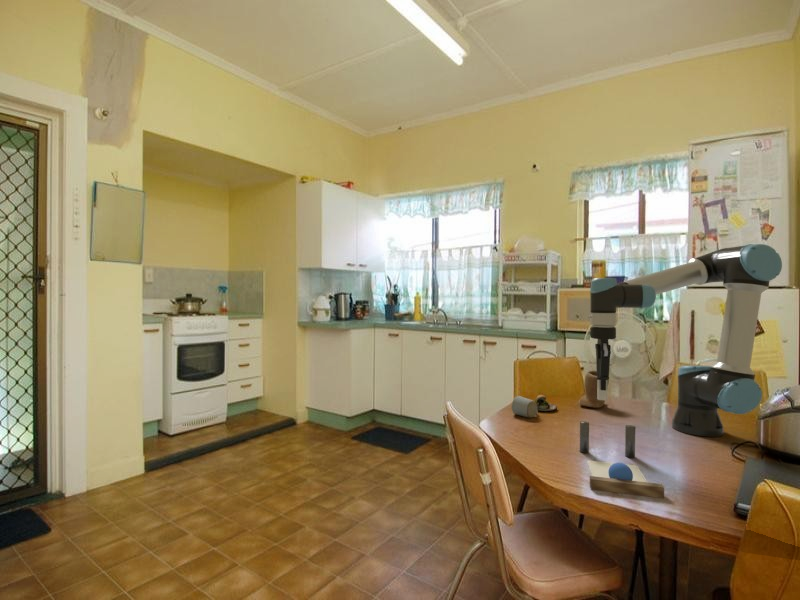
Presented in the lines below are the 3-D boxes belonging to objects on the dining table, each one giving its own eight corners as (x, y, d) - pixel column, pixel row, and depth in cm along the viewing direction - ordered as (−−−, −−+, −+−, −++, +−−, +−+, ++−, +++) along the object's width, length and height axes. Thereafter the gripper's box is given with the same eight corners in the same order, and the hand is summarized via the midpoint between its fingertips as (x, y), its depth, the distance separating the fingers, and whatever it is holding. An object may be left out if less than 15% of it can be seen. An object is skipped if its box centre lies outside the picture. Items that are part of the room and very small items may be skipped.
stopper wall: (661, 494, 104) (661, 484, 104) (664, 498, 102) (664, 487, 102) (589, 485, 108) (589, 475, 108) (590, 489, 106) (590, 479, 106)
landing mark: (637, 466, 121) (637, 465, 121) (649, 485, 109) (649, 484, 109) (586, 460, 125) (586, 460, 125) (593, 479, 112) (593, 478, 112)
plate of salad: (528, 412, 177) (529, 394, 177) (525, 405, 189) (526, 388, 189) (559, 414, 175) (559, 396, 175) (554, 407, 187) (554, 389, 186)
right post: (633, 455, 129) (634, 425, 129) (636, 458, 127) (636, 428, 127) (624, 454, 130) (624, 424, 130) (626, 457, 127) (626, 427, 127)
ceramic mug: (528, 420, 166) (528, 400, 166) (510, 415, 172) (511, 396, 172) (543, 415, 172) (543, 397, 172) (526, 411, 178) (526, 393, 178)
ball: (629, 469, 112) (630, 458, 108) (634, 490, 108) (636, 479, 104) (605, 469, 113) (606, 458, 110) (610, 489, 109) (611, 478, 106)
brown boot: (606, 411, 178) (606, 375, 178) (575, 407, 185) (576, 372, 185) (612, 403, 191) (612, 370, 191) (583, 400, 198) (583, 367, 198)
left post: (588, 450, 133) (588, 421, 133) (589, 453, 130) (589, 424, 130) (579, 450, 133) (579, 421, 133) (580, 453, 131) (580, 423, 131)
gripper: (587, 324, 146) (587, 394, 146) (593, 327, 133) (592, 403, 133) (612, 325, 143) (611, 396, 144) (620, 327, 131) (619, 405, 131)
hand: (602, 399), depth 139 cm, fingers closed
